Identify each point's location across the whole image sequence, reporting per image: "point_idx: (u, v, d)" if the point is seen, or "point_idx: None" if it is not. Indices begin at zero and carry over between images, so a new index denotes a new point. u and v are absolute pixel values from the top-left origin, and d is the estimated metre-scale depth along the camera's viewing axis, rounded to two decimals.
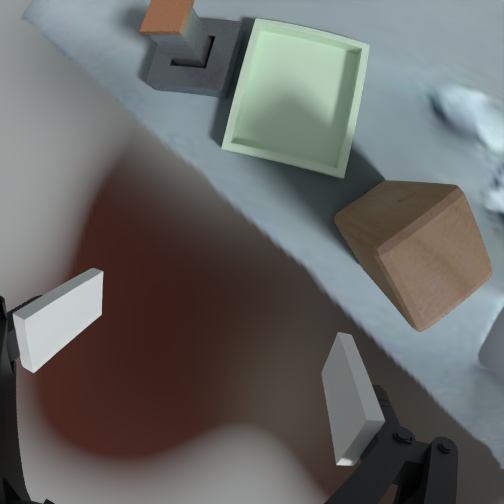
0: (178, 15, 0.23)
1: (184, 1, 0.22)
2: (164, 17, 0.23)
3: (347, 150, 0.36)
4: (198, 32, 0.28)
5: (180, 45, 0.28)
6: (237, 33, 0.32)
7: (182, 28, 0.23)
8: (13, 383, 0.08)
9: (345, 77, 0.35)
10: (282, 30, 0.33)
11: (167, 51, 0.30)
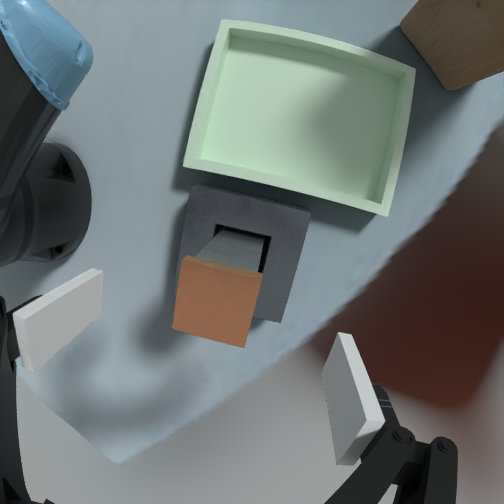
0: (223, 282, 0.17)
1: (191, 272, 0.17)
2: (223, 306, 0.17)
3: (383, 58, 0.23)
4: (227, 247, 0.23)
5: None
6: (213, 191, 0.27)
7: (250, 273, 0.17)
8: (13, 383, 0.08)
9: (273, 53, 0.26)
10: (203, 129, 0.27)
11: None
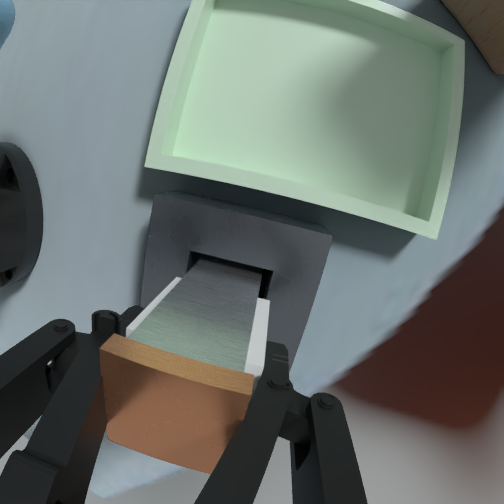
0: (176, 394, 0.08)
1: (118, 372, 0.08)
2: (181, 428, 0.08)
3: (424, 22, 0.14)
4: (200, 299, 0.14)
5: None
6: (185, 202, 0.18)
7: (230, 378, 0.08)
8: None
9: (275, 11, 0.17)
10: (174, 112, 0.18)
11: None
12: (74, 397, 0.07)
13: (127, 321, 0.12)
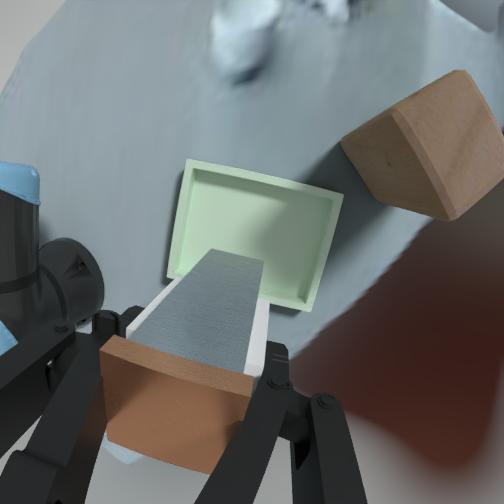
0: (176, 395, 0.08)
1: (118, 373, 0.08)
2: (181, 429, 0.08)
3: (315, 189, 0.36)
4: (200, 299, 0.14)
5: None
6: None
7: (229, 379, 0.08)
8: None
9: (229, 184, 0.39)
10: (179, 250, 0.40)
11: None
12: (74, 397, 0.07)
13: (127, 321, 0.12)
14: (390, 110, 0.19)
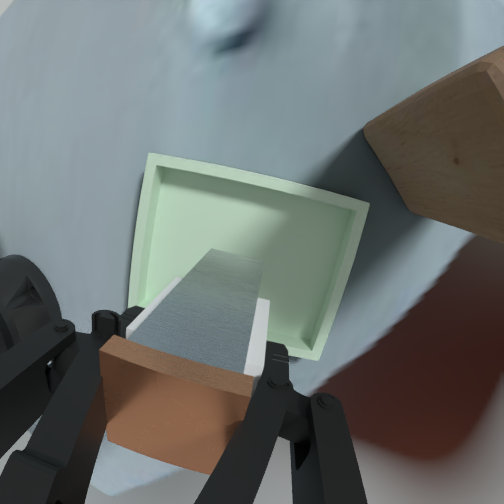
0: (176, 395, 0.08)
1: (118, 373, 0.08)
2: (181, 429, 0.08)
3: (329, 195, 0.25)
4: (200, 300, 0.14)
5: None
6: None
7: (229, 379, 0.08)
8: None
9: (207, 187, 0.28)
10: (142, 277, 0.29)
11: None
12: (74, 397, 0.07)
13: (127, 321, 0.12)
14: (479, 65, 0.08)
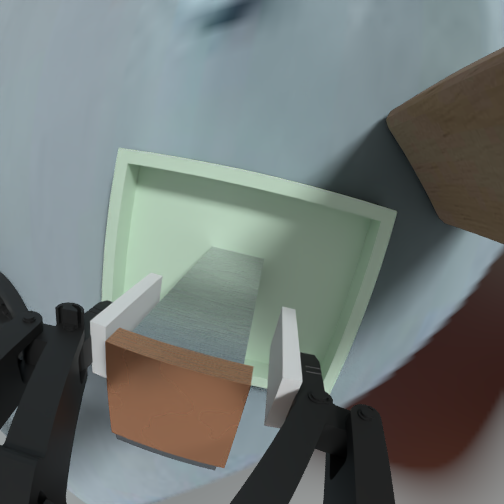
0: (179, 385, 0.08)
1: (123, 364, 0.08)
2: (183, 419, 0.09)
3: (347, 201, 0.19)
4: (202, 295, 0.14)
5: None
6: None
7: (230, 369, 0.09)
8: (79, 393, 0.09)
9: (192, 191, 0.22)
10: None
11: None
12: (45, 389, 0.07)
13: (95, 315, 0.12)
14: None
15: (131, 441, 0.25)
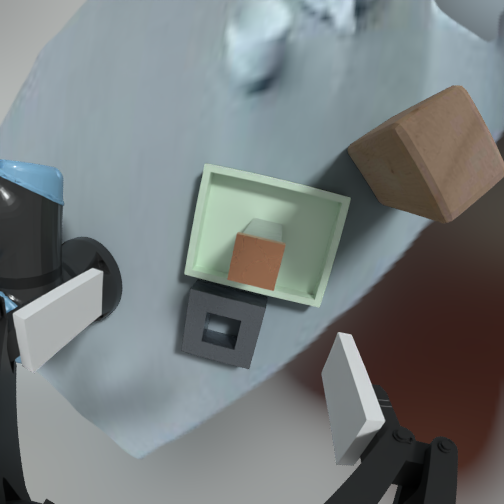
0: (262, 247, 0.28)
1: (242, 242, 0.28)
2: (261, 263, 0.29)
3: (324, 193, 0.39)
4: (259, 230, 0.34)
5: None
6: (204, 293, 0.43)
7: (278, 242, 0.29)
8: (13, 383, 0.08)
9: (244, 187, 0.42)
10: (196, 249, 0.43)
11: None
12: None
13: None
14: (393, 124, 0.21)
15: (192, 351, 0.45)
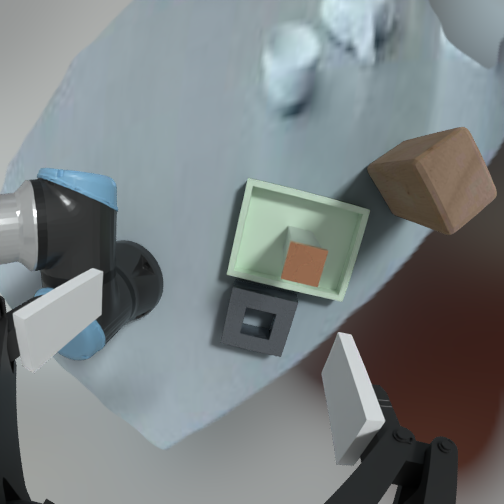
0: (310, 252, 0.35)
1: (294, 248, 0.35)
2: (309, 265, 0.36)
3: (348, 206, 0.46)
4: (301, 238, 0.41)
5: None
6: (245, 290, 0.50)
7: (322, 249, 0.36)
8: (13, 383, 0.08)
9: (280, 199, 0.49)
10: (238, 252, 0.50)
11: None
12: None
13: None
14: (414, 160, 0.29)
15: (231, 342, 0.52)
